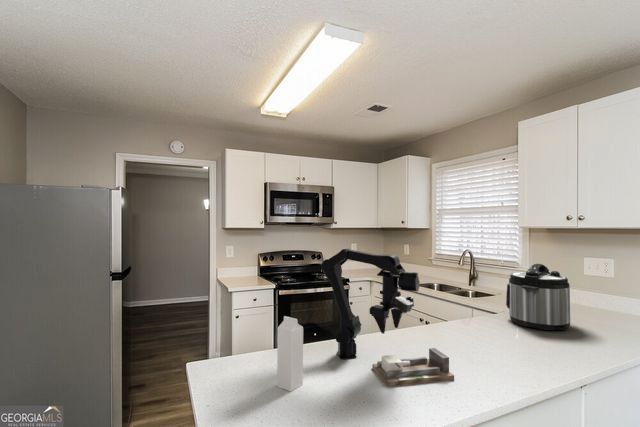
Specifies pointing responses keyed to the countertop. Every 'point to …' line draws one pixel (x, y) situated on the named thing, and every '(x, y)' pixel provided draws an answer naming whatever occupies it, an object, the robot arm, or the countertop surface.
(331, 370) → the countertop surface
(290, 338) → the milk
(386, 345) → the countertop surface
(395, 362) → the carriage
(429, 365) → the gauge base
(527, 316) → the pressure cooker
